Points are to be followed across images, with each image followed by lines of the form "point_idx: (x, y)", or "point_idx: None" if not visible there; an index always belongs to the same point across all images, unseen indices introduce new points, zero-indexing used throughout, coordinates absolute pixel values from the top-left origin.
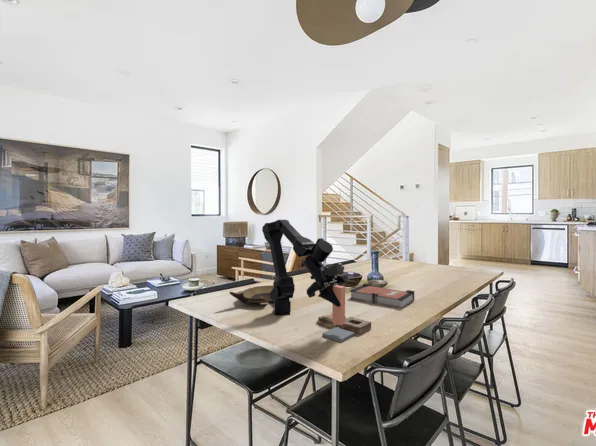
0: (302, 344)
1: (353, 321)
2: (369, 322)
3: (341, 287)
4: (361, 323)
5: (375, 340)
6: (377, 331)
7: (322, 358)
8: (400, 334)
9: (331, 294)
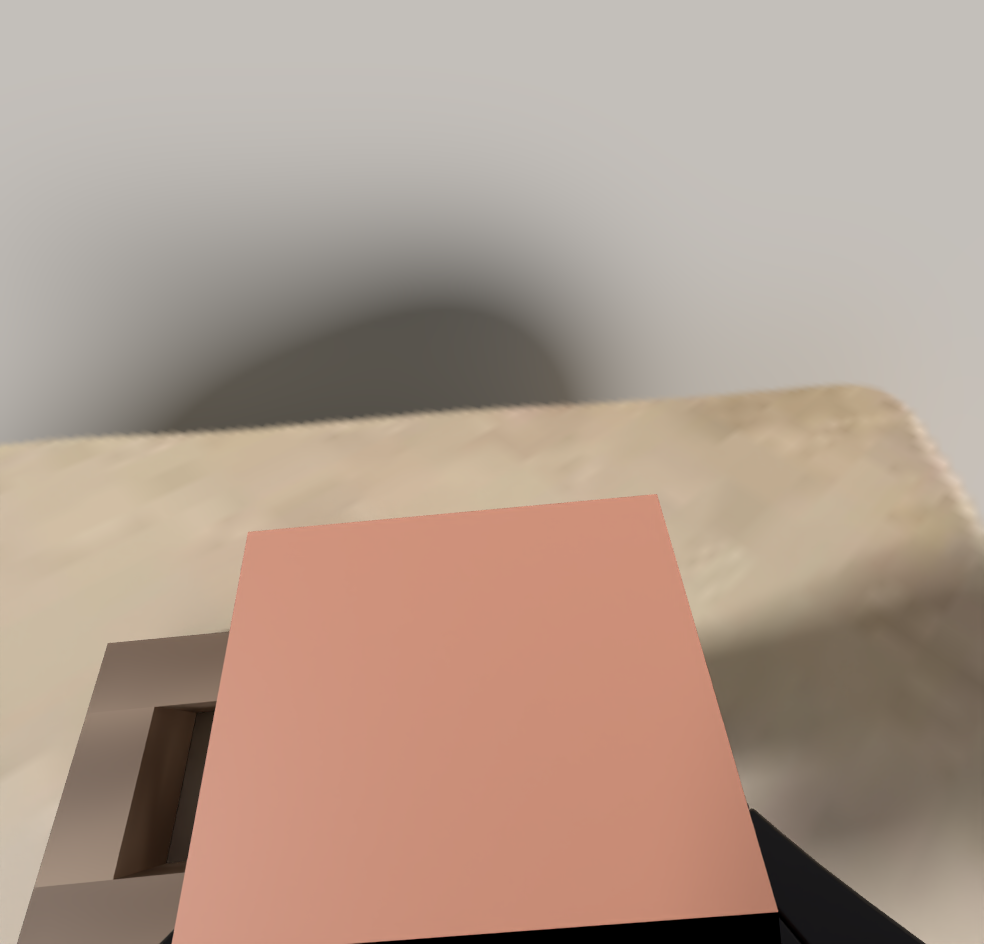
0: (979, 902)
1: (134, 851)
2: (128, 649)
3: (590, 532)
4: (203, 690)
5: (377, 494)
6: (191, 581)
7: (914, 553)
8: (168, 444)
9: (901, 942)
